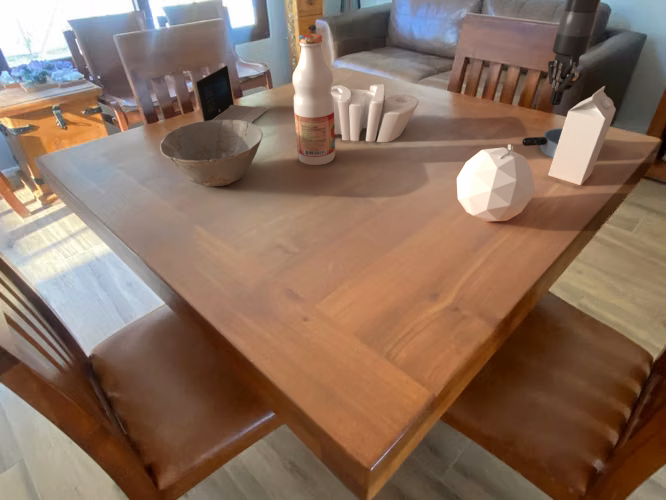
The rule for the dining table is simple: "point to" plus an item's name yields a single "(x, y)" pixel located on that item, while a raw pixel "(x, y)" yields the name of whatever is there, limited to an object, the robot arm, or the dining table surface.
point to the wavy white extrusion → (371, 113)
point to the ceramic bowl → (213, 150)
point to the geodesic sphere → (495, 184)
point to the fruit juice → (313, 104)
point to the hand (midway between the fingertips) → (554, 104)
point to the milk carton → (582, 138)
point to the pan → (545, 141)
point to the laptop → (222, 99)
